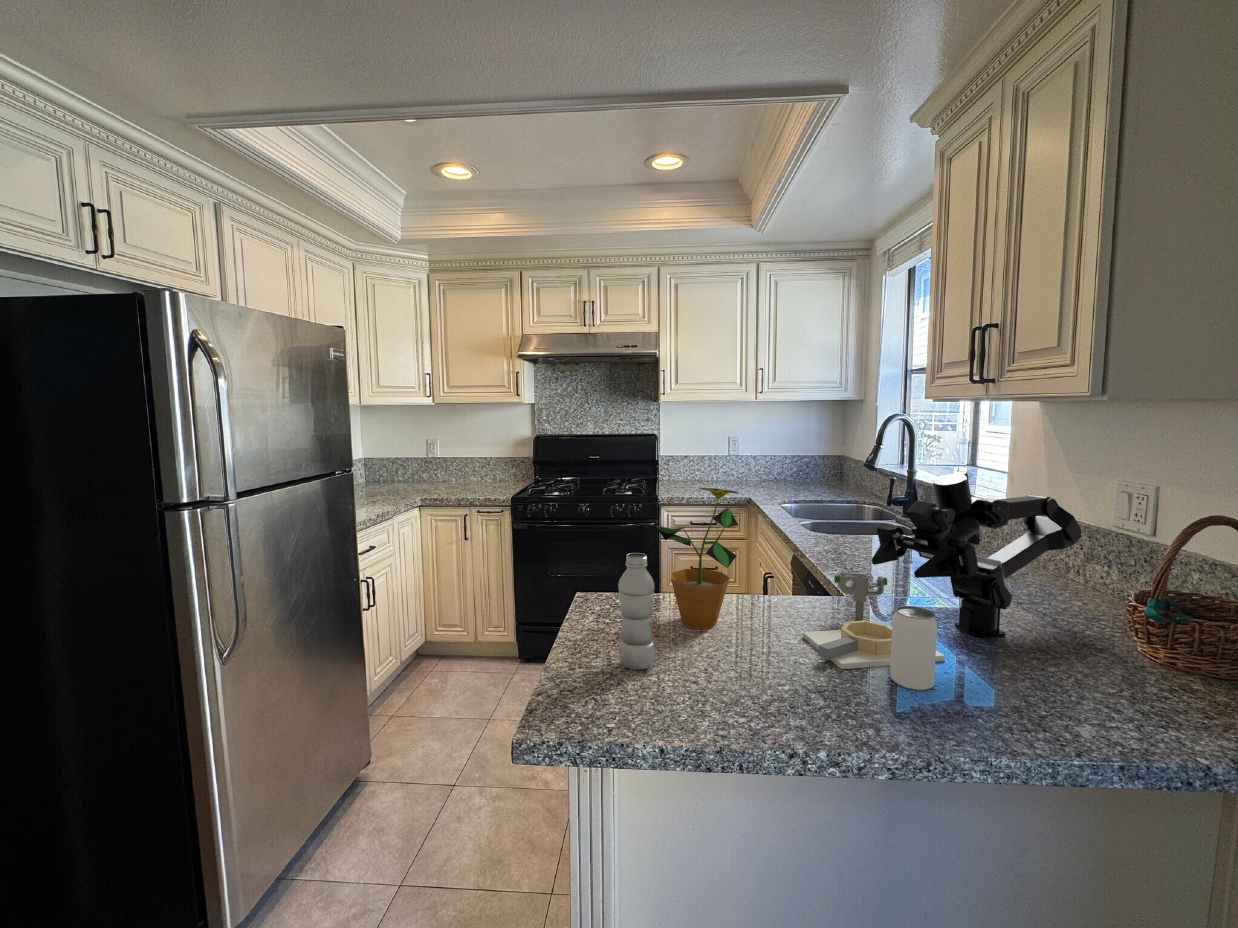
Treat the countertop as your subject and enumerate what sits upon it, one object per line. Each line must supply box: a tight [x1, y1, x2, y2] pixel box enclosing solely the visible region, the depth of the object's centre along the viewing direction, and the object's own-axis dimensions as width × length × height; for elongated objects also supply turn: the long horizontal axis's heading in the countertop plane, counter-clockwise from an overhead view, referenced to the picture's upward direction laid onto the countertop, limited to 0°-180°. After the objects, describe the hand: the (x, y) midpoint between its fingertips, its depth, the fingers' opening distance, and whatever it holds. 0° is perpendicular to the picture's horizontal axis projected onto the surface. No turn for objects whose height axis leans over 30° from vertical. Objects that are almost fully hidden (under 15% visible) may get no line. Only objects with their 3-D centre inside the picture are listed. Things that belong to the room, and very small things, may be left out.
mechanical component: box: [833, 572, 888, 621], centre depth 117 cm, size 3×10×10 cm, turn 78°
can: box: [889, 605, 938, 692], centre depth 90 cm, size 6×6×12 cm
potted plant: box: [654, 487, 739, 630], centre depth 116 cm, size 18×19×30 cm
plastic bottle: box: [617, 552, 656, 671], centre depth 96 cm, size 6×7×20 cm
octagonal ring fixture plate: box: [802, 619, 945, 670], centre depth 104 cm, size 25×14×4 cm, turn 99°
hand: (893, 568), depth 100 cm, fingers open, 9 cm apart
